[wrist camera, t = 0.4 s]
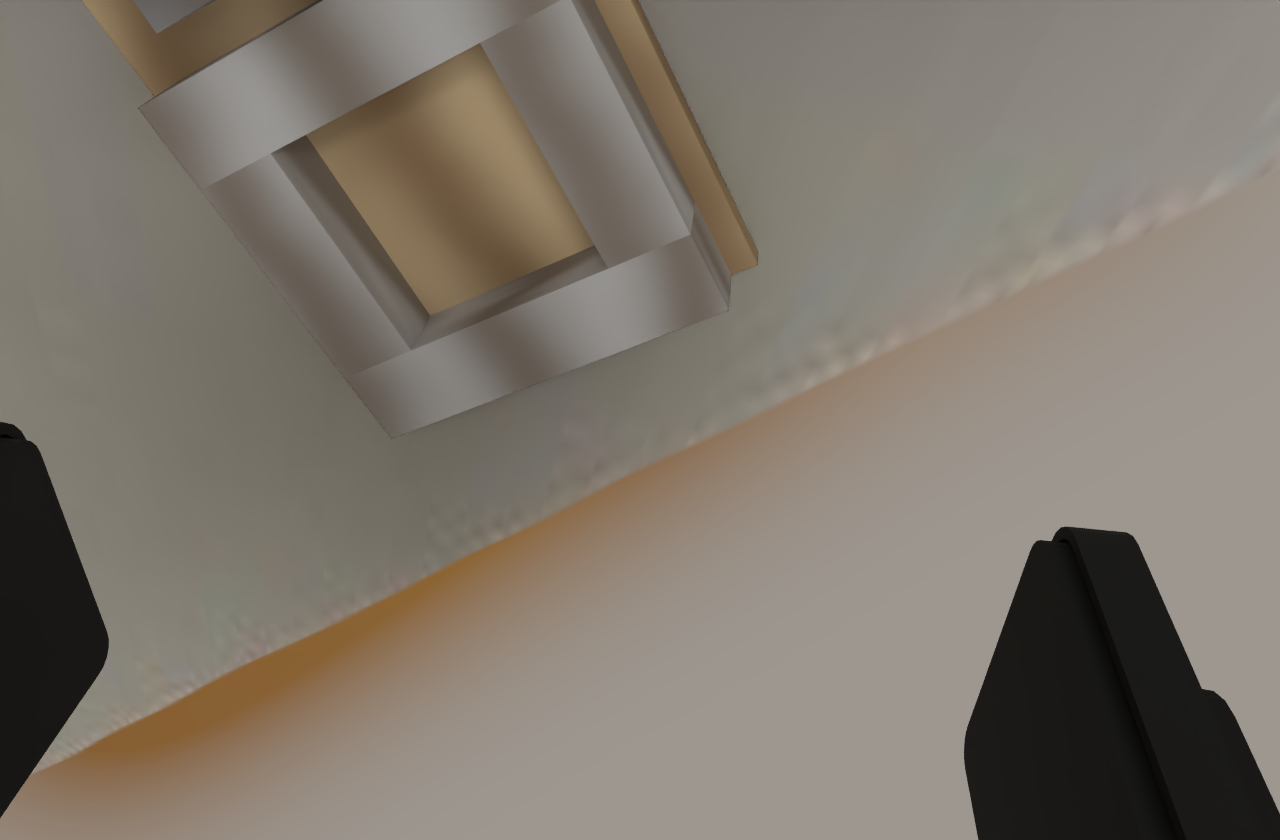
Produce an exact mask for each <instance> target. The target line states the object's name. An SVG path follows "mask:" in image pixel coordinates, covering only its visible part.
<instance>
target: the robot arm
mask: <svg viewBox="0 0 1280 840" xmlns="http://www.w3.org/2000/svg"><path fill="white" fill-rule="evenodd" d="M108 648H109V639H108V634H107V631H106V628H105V625H104V622H103V620H102V617H101V614H100V612H99V609H98V606H97V604H96V601H95V598H94V596H93V593H92V590H91V588H90V585H89V582H88V579H87V577H86V574H85V571H84V569H83V566H82V563H81V561H80V558H79V555H78V553H77V550H76V547H75V544H74V542H73V539H72V536H71V534H70V531H69V528H68V526H67V523H66V520H65V518H64V515H63V512H62V509H61V507H60V504H59V501H58V499H57V496H56V493H55V491H54V488H53V485H52V483H51V480H50V477H49V475H48V472H47V469H46V466H45V464H44V461H43V458H42V456H41V453H40V451H39V449H38V448H37V446H36V445H35V444H34V443H32V442H31V441H27V440H26V439H25V437H24V435H23V433H22V431H20V430H19V429H18V428H17V427H16V426H15V425H12V424H8V423H3V422H0V817H1V816H2V815H3V813H4V812H5V810H6V809H7V807H8V806H9V804H10V803H11V801H12V800H13V799H14V797H15V796H16V794H17V793H18V791H19V790H20V788H21V787H22V786H23V784H24V783H25V781H26V780H27V778H28V777H29V775H30V774H31V772H32V771H33V769H34V768H35V767H36V765H37V764H38V762H39V761H40V759H41V758H42V756H43V755H44V753H45V752H46V751H47V749H48V748H49V746H50V745H51V743H52V742H53V740H54V739H55V737H56V736H57V735H58V733H59V732H60V730H61V729H62V727H63V726H64V724H65V723H66V721H67V720H68V718H69V717H70V716H71V714H72V713H73V711H74V710H75V708H76V707H77V705H78V704H79V702H80V701H81V700H82V698H83V697H84V695H85V694H86V692H87V691H88V689H89V688H90V686H91V685H92V683H93V682H94V681H95V679H96V678H97V676H98V675H99V673H100V671H101V670H102V668H103V666H104V663H105V661H106V658H107V653H108ZM964 760H965V761H964V762H965V770H966V775H967V781H968V786H969V791H970V797H971V802H972V807H973V813H974V818H975V823H976V829H977V834H978V839H979V840H1280V814H1279V811H1278V809H1277V807H1276V805H1275V803H1274V801H1273V798H1272V796H1271V794H1270V792H1269V790H1268V788H1267V785H1266V783H1265V781H1264V779H1263V777H1262V774H1261V772H1260V770H1259V768H1258V766H1257V763H1256V761H1255V759H1254V757H1253V755H1252V753H1251V751H1250V748H1249V746H1248V744H1247V742H1246V740H1245V737H1244V736H1243V733H1242V731H1241V729H1240V727H1239V724H1238V722H1237V720H1236V718H1235V716H1234V715H1233V713H1232V711H1231V710H1230V708H1229V706H1228V705H1227V703H1226V701H1225V700H1224V699H1222V698H1221V697H1220V696H1219V695H1218V694H1216V693H1215V692H1214V691H1210V690H1204V689H1202V688H1201V686H1200V684H1199V682H1198V679H1197V677H1196V675H1195V672H1194V670H1193V668H1192V665H1191V663H1190V661H1189V659H1188V656H1187V654H1186V652H1185V650H1184V647H1183V645H1182V643H1181V641H1180V638H1179V636H1178V634H1177V632H1176V629H1175V627H1174V625H1173V622H1172V620H1171V618H1170V616H1169V613H1168V611H1167V609H1166V606H1165V604H1164V602H1163V600H1162V597H1161V595H1160V593H1159V590H1158V588H1157V586H1156V584H1155V581H1154V579H1153V577H1152V575H1151V572H1150V570H1149V568H1148V565H1147V563H1146V561H1145V559H1144V557H1143V554H1142V552H1141V550H1140V547H1139V545H1138V543H1137V542H1136V540H1135V539H1134V537H1133V536H1132V535H1130V534H1128V533H1126V532H1116V531H1106V530H1095V529H1085V528H1075V527H1062V528H1060V529H1059V530H1058V531H1057V532H1056V533H1055V535H1054V537H1053V539H1052V541H1043V540H1040V541H1036V542H1035V544H1034V545H1033V546H1032V549H1031V551H1030V553H1029V556H1028V559H1027V562H1026V564H1025V567H1024V570H1023V573H1022V576H1021V578H1020V582H1019V584H1018V587H1017V590H1016V592H1015V596H1014V598H1013V601H1012V604H1011V607H1010V609H1009V612H1008V615H1007V618H1006V620H1005V623H1004V626H1003V629H1002V632H1001V634H1000V637H999V640H998V643H997V646H996V648H995V651H994V654H993V657H992V660H991V662H990V665H989V668H988V671H987V674H986V676H985V680H984V682H983V685H982V688H981V690H980V693H979V696H978V699H977V702H976V705H975V707H974V710H973V713H972V716H971V719H970V721H969V724H968V727H967V731H966V736H965V745H964Z"/></svg>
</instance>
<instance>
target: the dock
mask: <svg viewBox="0 0 1280 840" xmlns="http://www.w3.org/2000/svg"><path fill="white" fill-rule="evenodd" d="M82 1H83V3H84V4H85V5H86V7H87V8H88V9H89V11H90V12H91V13H92V14H93V16H94V17H95V18H96V20H97V21H98V22H99V24H100V25H101V26H102V28H103V29H104V30H105V32H106V33H107V34H108V36H109V37H110V38H111V40H112V41H113V42H114V44H115V45H116V46H117V48H118V49H119V50H120V52H121V53H122V54H123V56H124V57H125V58H126V60H127V61H128V62H129V64H130V65H131V66H132V68H133V69H134V70H135V72H136V73H137V74H138V76H139V77H140V78H141V80H142V81H143V82H144V84H145V85H146V86H147V88H148V89H149V90H150V92H151V93H152V94H153V96H154V97H153V98H152V99H150V100H149V101H147V102H146V103H144V104H143V105H141V106H140V107H138V109H139V110H140V112H141V113H142V114H143V116H144V117H145V118H146V120H147V121H148V122H149V124H150V125H151V126H152V127H153V129H154V130H155V131H156V133H157V134H158V135H159V137H160V138H161V139H162V141H163V142H164V143H165V144H166V146H167V147H168V148H169V150H170V151H171V152H172V154H173V155H174V156H175V157H176V159H177V160H178V161H179V163H180V164H181V165H182V167H183V168H184V169H185V171H186V172H187V173H188V174H189V176H190V177H191V178H192V180H193V181H194V182H195V184H196V185H197V186H198V188H199V189H200V190H201V191H202V193H203V194H204V195H205V197H206V198H207V199H208V201H209V202H210V203H211V204H212V206H213V207H214V208H215V210H216V211H217V212H218V214H219V215H220V216H221V218H222V219H223V220H224V221H225V223H226V224H227V225H228V227H229V228H230V229H231V231H232V232H233V233H234V235H235V236H236V237H237V238H238V240H239V241H240V242H241V244H242V245H243V246H244V248H245V249H246V250H247V251H248V253H249V254H250V255H251V257H252V258H253V259H254V261H255V262H256V263H257V265H258V266H259V267H260V268H261V270H262V271H263V272H264V274H265V275H266V276H267V278H268V279H269V280H270V281H271V283H272V284H273V285H274V287H275V288H276V289H277V291H278V292H279V293H280V295H281V296H282V297H283V298H284V300H285V301H286V302H287V304H288V305H289V306H290V308H291V309H292V310H293V312H294V313H295V314H296V315H297V317H298V318H299V319H300V321H301V322H302V323H303V325H304V326H305V327H306V328H307V330H308V331H309V332H310V334H311V335H312V336H313V338H314V339H315V340H316V342H317V343H318V344H319V345H320V347H321V348H322V349H323V351H324V352H325V353H326V355H327V356H328V357H329V359H330V360H331V361H332V362H333V364H334V365H335V366H336V368H337V369H338V370H339V372H340V373H341V374H342V375H343V377H344V378H345V379H346V381H347V382H348V383H349V385H350V386H351V387H352V389H353V390H354V391H355V392H356V394H357V395H358V396H359V398H360V399H361V400H362V402H363V403H364V404H365V406H366V407H367V408H368V409H369V411H370V412H371V413H372V415H373V416H374V417H375V419H376V420H377V421H378V422H379V424H380V425H381V426H382V428H383V429H384V430H385V432H386V433H387V434H388V436H389V437H390V438H391V439H393V438H396V437H398V436H401V435H404V434H406V433H409V432H411V431H414V430H417V429H419V428H422V427H425V426H427V425H430V424H432V423H435V422H438V421H440V420H443V419H445V418H448V417H451V416H453V415H456V414H459V413H461V412H464V411H466V410H469V409H472V408H474V407H477V406H479V405H482V404H485V403H487V402H490V401H493V400H495V399H498V398H500V397H503V396H506V395H508V394H511V393H513V392H516V391H519V390H521V389H524V388H527V387H529V386H532V385H534V384H537V383H540V382H542V381H545V380H547V379H550V378H553V377H555V376H558V375H561V374H563V373H566V372H568V371H571V370H574V369H576V368H579V367H581V366H584V365H587V364H589V363H592V362H595V361H597V360H600V359H602V358H605V357H608V356H610V355H613V354H615V353H618V352H621V351H623V350H626V349H629V348H631V347H634V346H636V345H639V344H642V343H644V342H647V341H649V340H652V339H655V338H657V337H660V336H663V335H665V334H668V333H670V332H673V331H676V330H678V329H681V328H683V327H686V326H689V325H691V324H694V323H696V322H699V321H702V320H704V319H707V318H710V317H712V316H715V315H717V314H720V313H723V312H725V311H728V310H729V303H730V289H731V275H733V274H735V273H738V272H740V271H743V270H746V269H748V268H751V267H753V266H756V265H758V251H757V249H756V247H755V244H754V242H753V240H752V238H751V236H750V234H749V232H748V230H747V228H746V226H745V223H744V221H743V219H742V217H741V215H740V213H739V211H738V209H737V207H736V205H735V202H734V200H733V198H732V196H731V194H730V192H729V190H728V188H727V186H726V184H725V181H724V179H723V177H722V175H721V173H720V171H719V169H718V167H717V165H716V163H715V160H714V158H713V156H712V154H711V152H710V150H709V148H708V146H707V144H706V142H705V139H704V137H703V135H702V133H701V131H700V129H699V127H698V125H697V123H696V121H695V118H694V116H693V114H692V112H691V110H690V108H689V106H688V104H687V102H686V100H685V98H684V95H683V93H682V91H681V89H680V87H679V85H678V83H677V81H676V79H675V77H674V74H673V72H672V70H671V68H670V66H669V64H668V62H667V60H666V58H665V56H664V53H663V51H662V49H661V47H660V45H659V43H658V41H657V39H656V37H655V35H654V32H653V30H652V28H651V26H650V24H649V22H648V20H647V18H646V16H645V14H644V11H643V9H642V7H641V5H640V3H639V1H638V0H82Z"/></svg>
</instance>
